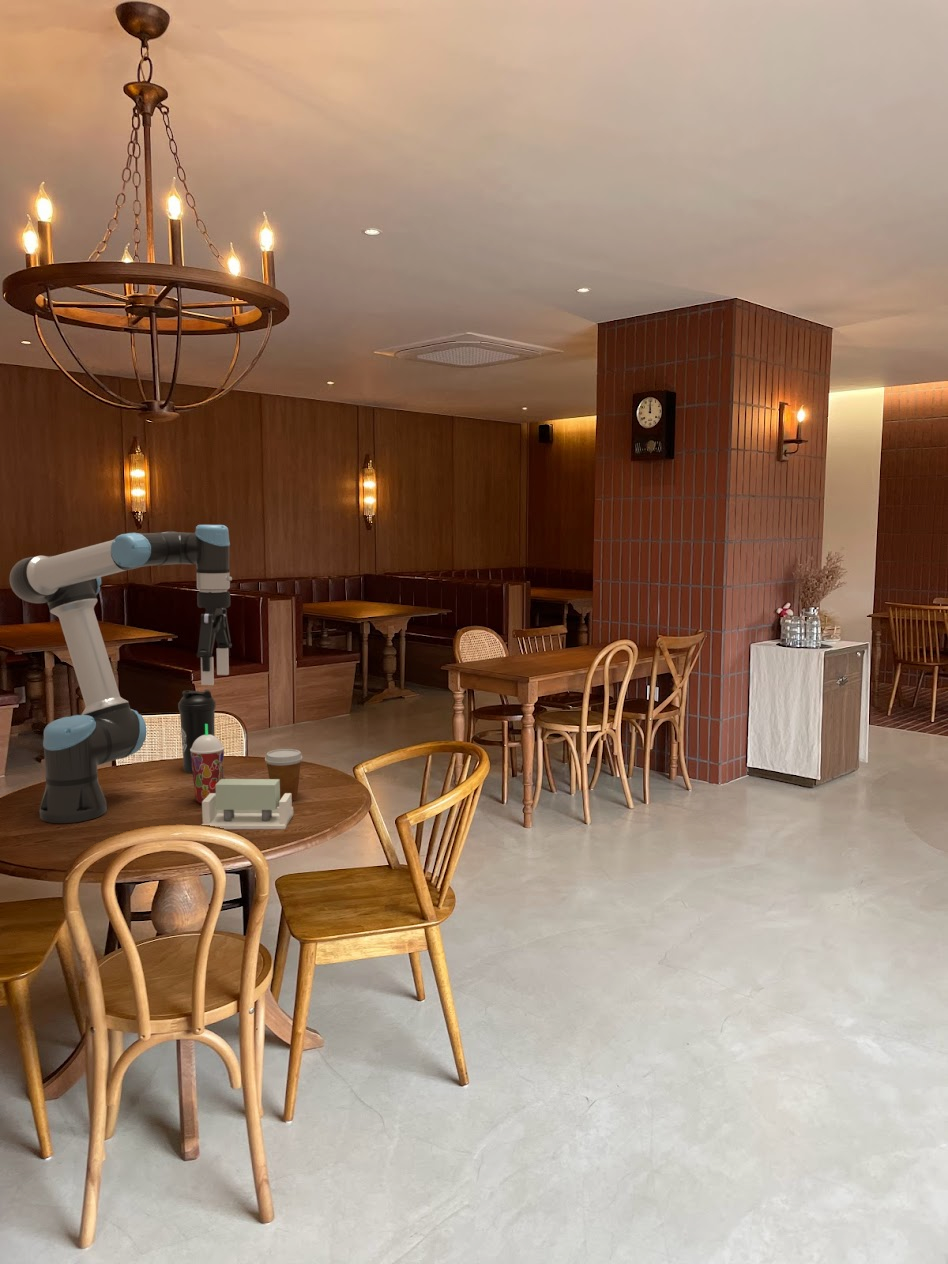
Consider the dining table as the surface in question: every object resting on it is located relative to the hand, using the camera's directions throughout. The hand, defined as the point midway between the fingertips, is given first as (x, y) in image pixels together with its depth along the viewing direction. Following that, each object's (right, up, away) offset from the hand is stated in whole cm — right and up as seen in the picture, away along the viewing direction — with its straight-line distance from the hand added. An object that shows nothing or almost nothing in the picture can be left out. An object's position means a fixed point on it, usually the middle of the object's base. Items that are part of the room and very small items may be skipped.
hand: (215, 679), depth 227 cm
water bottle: (-17, -28, +47) cm, 58 cm away
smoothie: (-6, -32, +17) cm, 37 cm away
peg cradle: (+8, -34, 0) cm, 35 cm away
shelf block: (+8, -30, 0) cm, 31 cm away
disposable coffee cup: (+13, -32, +19) cm, 39 cm away
